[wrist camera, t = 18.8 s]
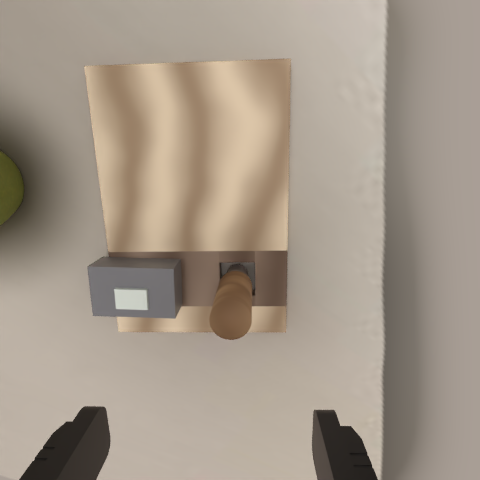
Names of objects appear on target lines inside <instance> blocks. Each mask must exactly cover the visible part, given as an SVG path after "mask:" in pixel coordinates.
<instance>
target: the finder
mask: <svg viewBox="0 0 480 480" xmlns="http://www.w3.org/2000/svg"><path fill="white" fill-rule="evenodd" d="M88 275H89V284H90V293H91V302H92V311H93V316H113V317H142V318H172V319H176V317H177V314H178V312H179V310H180V308H181V306H182V278H181V259H163V258H127V257H102V258H100V259H99V260H97V261H95V262H94V263H92V264H91V265H89V266H88Z"/></svg>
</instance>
